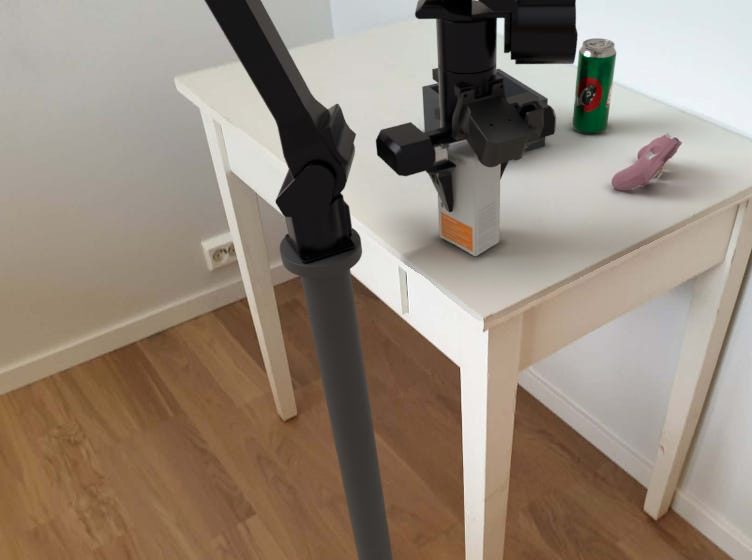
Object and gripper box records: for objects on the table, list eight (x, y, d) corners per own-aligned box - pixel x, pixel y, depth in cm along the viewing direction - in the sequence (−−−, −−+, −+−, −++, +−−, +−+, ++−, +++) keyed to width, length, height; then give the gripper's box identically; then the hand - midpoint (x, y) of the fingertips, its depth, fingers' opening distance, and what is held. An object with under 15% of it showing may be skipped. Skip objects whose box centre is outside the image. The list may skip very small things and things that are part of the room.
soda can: (611, 133, 105) (623, 48, 97) (578, 137, 104) (586, 51, 96) (600, 119, 108) (609, 35, 100) (567, 122, 108) (574, 38, 100)
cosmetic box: (438, 238, 85) (433, 142, 77) (463, 223, 87) (461, 129, 79) (475, 258, 82) (474, 160, 74) (501, 243, 84) (503, 146, 76)
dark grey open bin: (467, 168, 98) (466, 119, 93) (424, 132, 106) (422, 86, 101) (545, 145, 102) (548, 98, 98) (498, 113, 111) (498, 68, 106)
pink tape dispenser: (633, 208, 93) (665, 169, 87) (605, 185, 93) (636, 145, 87) (662, 175, 99) (694, 137, 93) (636, 154, 99) (666, 115, 93)
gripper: (419, 114, 62) (428, 265, 73) (594, 70, 69) (579, 214, 79) (366, 72, 69) (381, 214, 80) (529, 36, 76) (524, 172, 87)
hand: (469, 204), depth 81 cm, fingers closed on cosmetic box, 5 cm apart
